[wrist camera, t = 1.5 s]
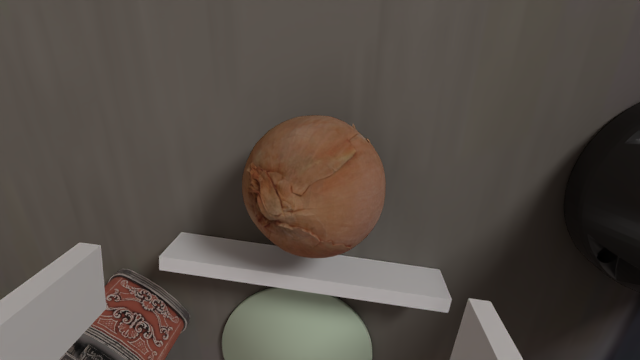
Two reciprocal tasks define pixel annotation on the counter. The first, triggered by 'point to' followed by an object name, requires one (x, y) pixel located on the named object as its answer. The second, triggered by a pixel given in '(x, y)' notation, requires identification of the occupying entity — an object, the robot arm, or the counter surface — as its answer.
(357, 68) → the counter surface
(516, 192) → the counter surface
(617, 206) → the robot arm
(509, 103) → the counter surface
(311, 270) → the low wall
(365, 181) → the onion
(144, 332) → the lighter
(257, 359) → the pad
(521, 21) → the counter surface
